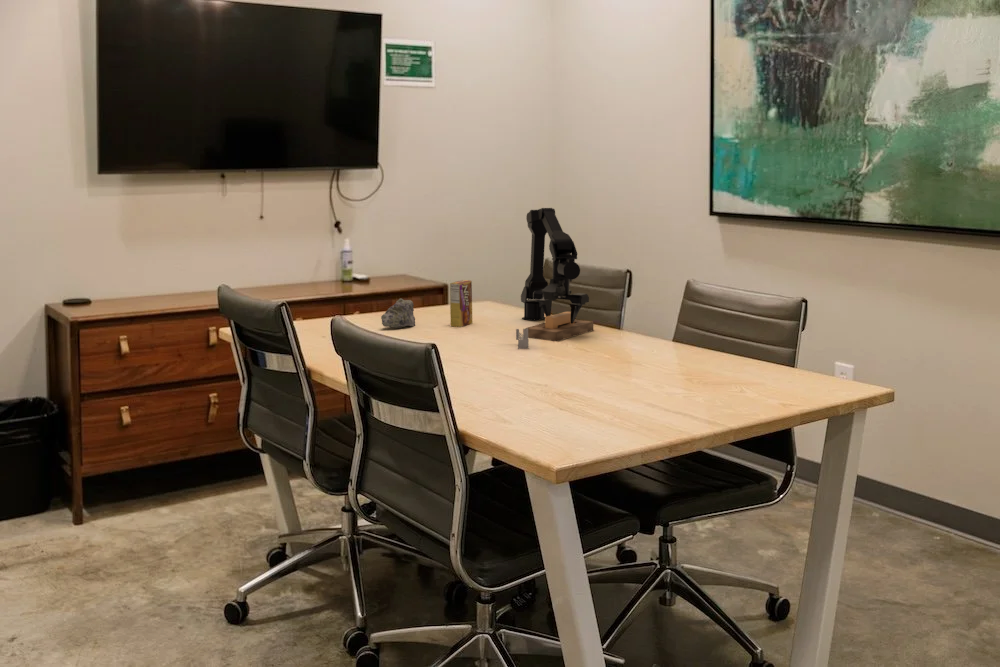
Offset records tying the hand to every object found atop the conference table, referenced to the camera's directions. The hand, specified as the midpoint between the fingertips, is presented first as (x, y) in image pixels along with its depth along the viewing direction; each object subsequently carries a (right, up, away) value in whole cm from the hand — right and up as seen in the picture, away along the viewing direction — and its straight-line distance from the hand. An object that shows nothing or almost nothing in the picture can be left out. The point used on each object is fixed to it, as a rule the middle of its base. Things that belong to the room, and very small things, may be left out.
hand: (560, 321), depth 344 cm
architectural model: (-18, -9, -21) cm, 29 cm away
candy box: (-34, -1, +15) cm, 37 cm away
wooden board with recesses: (0, -4, +1) cm, 4 cm away
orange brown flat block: (0, -4, +1) cm, 4 cm away
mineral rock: (-55, -2, +10) cm, 56 cm away
